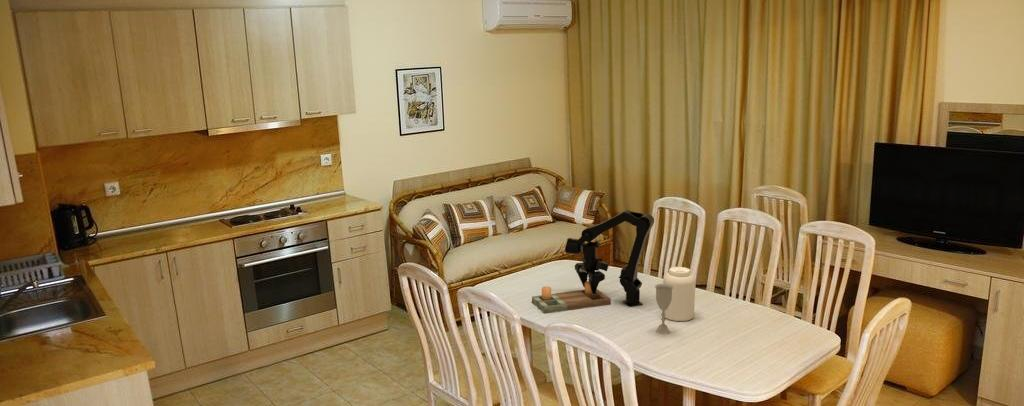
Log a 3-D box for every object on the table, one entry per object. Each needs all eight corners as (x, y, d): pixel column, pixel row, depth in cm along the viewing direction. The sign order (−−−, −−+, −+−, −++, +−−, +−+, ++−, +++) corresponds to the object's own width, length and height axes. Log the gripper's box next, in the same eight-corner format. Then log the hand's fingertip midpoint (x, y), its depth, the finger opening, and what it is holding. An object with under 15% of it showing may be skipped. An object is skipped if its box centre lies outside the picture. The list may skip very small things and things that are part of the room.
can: (694, 322, 296) (696, 274, 292) (662, 320, 298) (663, 272, 294) (693, 311, 308) (695, 265, 304) (662, 310, 310) (663, 263, 306)
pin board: (610, 304, 318) (610, 298, 317) (544, 313, 308) (544, 307, 308) (595, 293, 332) (595, 288, 331) (532, 302, 322) (532, 296, 322)
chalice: (659, 326, 292) (660, 282, 288) (675, 330, 288) (676, 285, 284) (650, 332, 287) (651, 287, 283) (666, 336, 282) (667, 290, 279)
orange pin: (595, 298, 325) (595, 283, 323) (586, 300, 324) (587, 284, 322) (591, 296, 329) (591, 280, 327) (583, 297, 327) (583, 281, 326)
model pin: (552, 304, 319) (552, 288, 317) (543, 305, 317) (543, 290, 316) (549, 301, 322) (549, 286, 321) (540, 302, 321) (540, 287, 320)
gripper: (616, 259, 316) (615, 294, 319) (597, 248, 333) (596, 282, 337) (592, 262, 313) (592, 297, 316) (574, 251, 330) (574, 284, 333)
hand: (589, 290), depth 325 cm, fingers open, 9 cm apart
